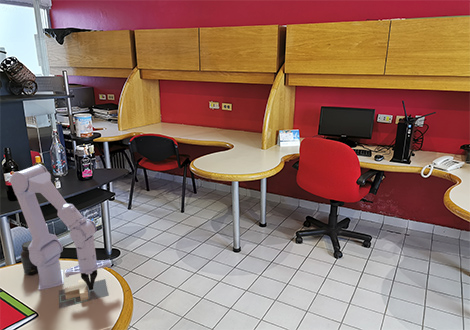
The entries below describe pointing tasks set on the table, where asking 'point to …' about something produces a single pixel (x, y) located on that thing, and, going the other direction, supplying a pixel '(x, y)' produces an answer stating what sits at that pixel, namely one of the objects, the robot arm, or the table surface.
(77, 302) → the mat
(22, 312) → the table surface
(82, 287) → the t block
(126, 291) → the table surface
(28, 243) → the supplement bottle
